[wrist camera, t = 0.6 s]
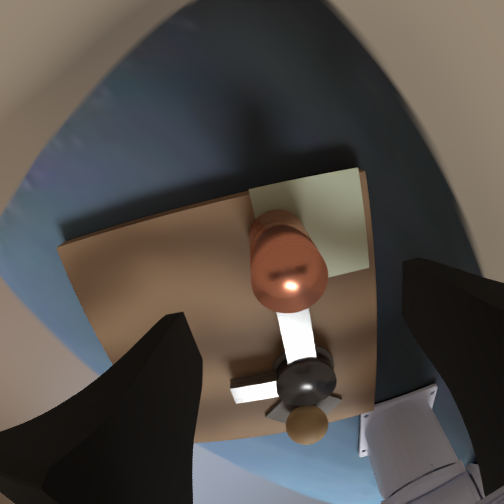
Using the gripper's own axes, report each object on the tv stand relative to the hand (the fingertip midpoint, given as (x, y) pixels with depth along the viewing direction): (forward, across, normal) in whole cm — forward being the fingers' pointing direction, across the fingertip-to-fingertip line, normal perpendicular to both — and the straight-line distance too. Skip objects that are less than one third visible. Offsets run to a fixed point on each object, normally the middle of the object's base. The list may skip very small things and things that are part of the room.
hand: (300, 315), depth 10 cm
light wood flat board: (+9, +4, +8) cm, 13 cm away
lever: (+8, +2, +5) cm, 9 cm away
